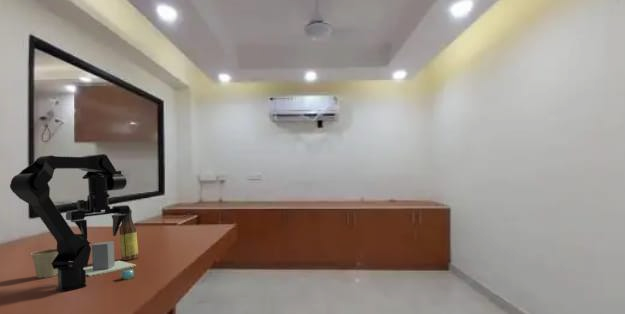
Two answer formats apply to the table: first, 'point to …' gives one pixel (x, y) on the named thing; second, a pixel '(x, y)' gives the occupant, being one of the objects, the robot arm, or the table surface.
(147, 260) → the table surface
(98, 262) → the grey rectangular block
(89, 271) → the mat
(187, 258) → the table surface
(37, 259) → the flower pot
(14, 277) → the table surface
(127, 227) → the sauce bottle
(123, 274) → the ball
